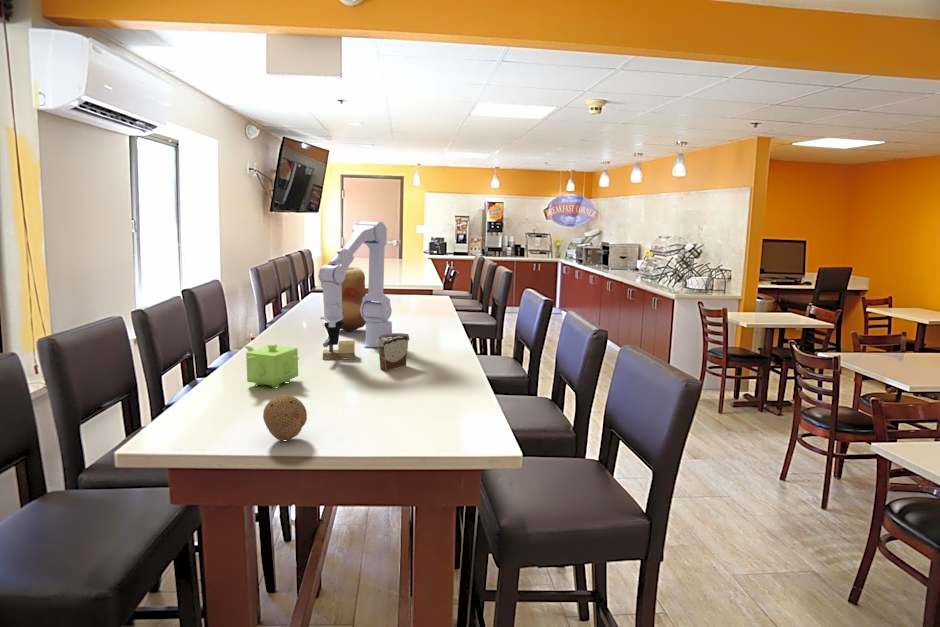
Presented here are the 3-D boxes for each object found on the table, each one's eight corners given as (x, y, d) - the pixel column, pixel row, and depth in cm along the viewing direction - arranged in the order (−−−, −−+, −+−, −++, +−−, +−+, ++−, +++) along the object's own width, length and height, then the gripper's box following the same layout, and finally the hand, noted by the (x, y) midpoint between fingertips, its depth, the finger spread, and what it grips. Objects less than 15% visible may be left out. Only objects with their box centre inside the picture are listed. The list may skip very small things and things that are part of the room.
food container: (394, 361, 205) (394, 331, 203) (409, 364, 201) (409, 333, 200) (367, 369, 195) (367, 337, 193) (382, 372, 191) (382, 340, 190)
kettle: (248, 394, 168) (246, 352, 166) (241, 380, 181) (239, 341, 179) (305, 387, 175) (304, 347, 173) (295, 374, 187) (293, 337, 185)
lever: (328, 347, 198) (328, 342, 198) (321, 347, 198) (321, 342, 198) (334, 340, 208) (334, 335, 208) (328, 340, 208) (328, 335, 208)
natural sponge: (280, 430, 143) (279, 387, 141) (315, 435, 140) (314, 391, 139) (255, 444, 134) (254, 399, 133) (292, 450, 132) (291, 403, 130)
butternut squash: (332, 335, 242) (331, 269, 237) (331, 328, 254) (330, 265, 250) (369, 334, 245) (369, 269, 240) (366, 327, 258) (366, 265, 253)
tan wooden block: (354, 349, 211) (354, 340, 211) (354, 353, 206) (354, 343, 206) (339, 349, 211) (339, 340, 210) (338, 353, 206) (338, 344, 205)
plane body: (355, 355, 212) (355, 339, 211) (354, 358, 207) (354, 342, 206) (323, 355, 210) (323, 339, 209) (322, 359, 205) (321, 343, 204)
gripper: (321, 299, 207) (323, 339, 210) (317, 307, 193) (319, 350, 196) (343, 298, 208) (345, 339, 211) (341, 306, 194) (343, 350, 197)
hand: (334, 344), depth 203 cm, fingers closed, pressing on lever
